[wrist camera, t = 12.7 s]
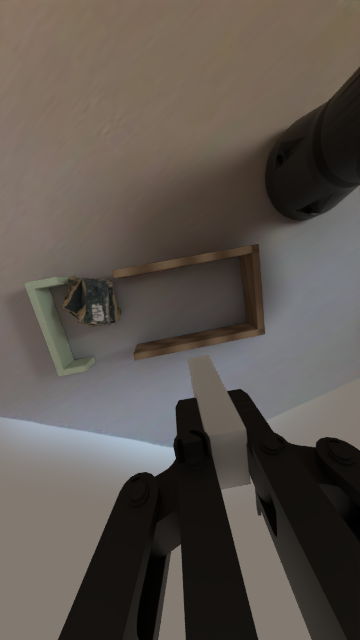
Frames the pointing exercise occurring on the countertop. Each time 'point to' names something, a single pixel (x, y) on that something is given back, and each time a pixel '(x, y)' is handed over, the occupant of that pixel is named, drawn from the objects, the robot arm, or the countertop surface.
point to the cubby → (215, 336)
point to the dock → (54, 326)
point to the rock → (92, 301)
